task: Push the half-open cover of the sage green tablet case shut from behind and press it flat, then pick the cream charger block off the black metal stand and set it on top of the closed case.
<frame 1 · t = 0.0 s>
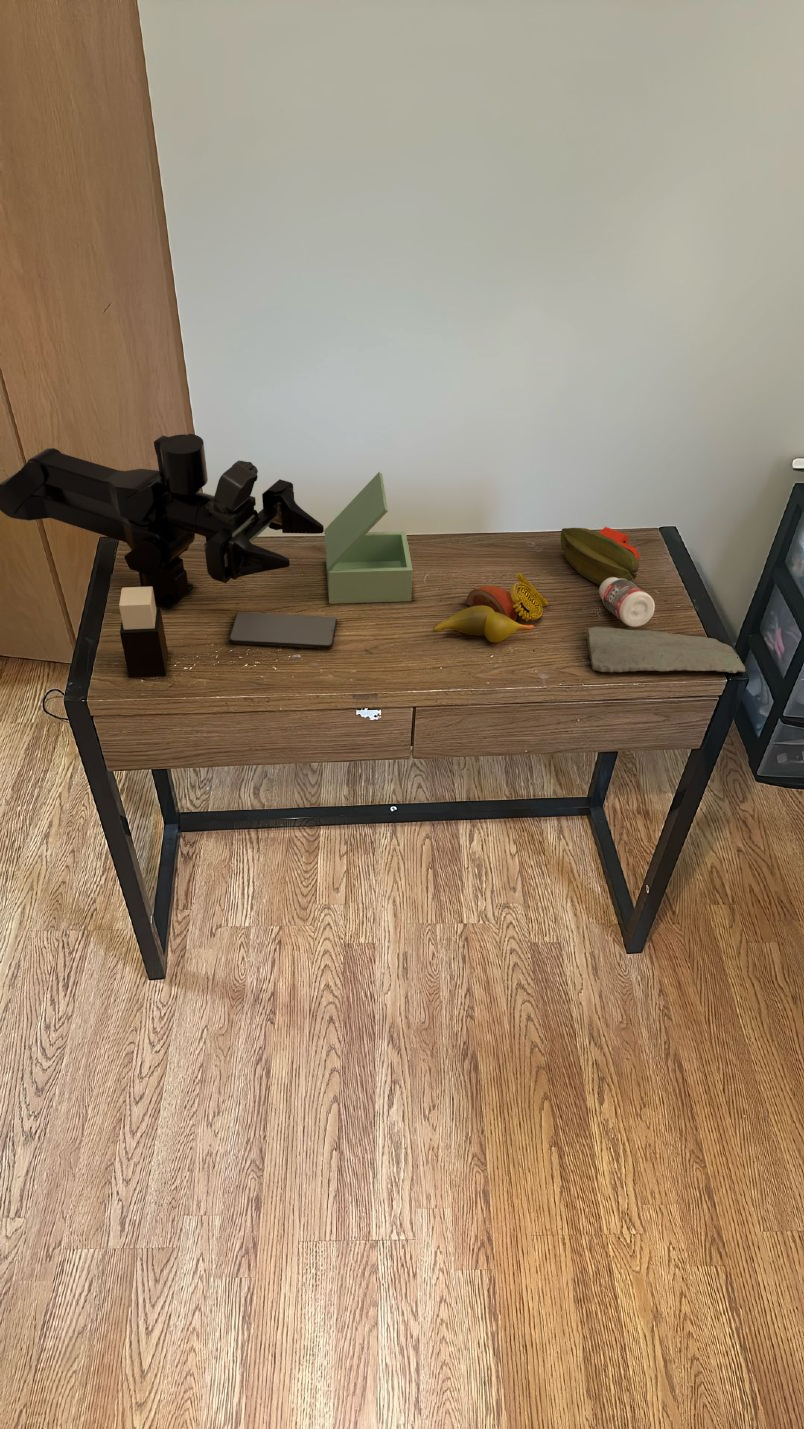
hand: (306, 545, 129), 17 cm above the table, tool horizontal, fingers open, 9 cm apart
cover: (354, 521, 144), point 11 cm above the table, hinge at 50.0°
case: (367, 582, 152), on the table
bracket: (603, 550, 157), point 2 cm above the table
smartphone: (284, 634, 142), on the table
block: (140, 620, 130), point 8 cm above the table, touching stand
pill bottle: (639, 610, 141), point 5 cm above the table, touching stone slab
stone slab: (655, 632, 145), on the table, touching pill bottle
yellow tapered piece: (476, 612, 144), point 2 cm above the table
logo: (532, 588, 148), point 2 cm above the table, touching fruit slice
stand: (148, 665, 135), on the table
fruit: (613, 550, 155), point 3 cm above the table
fruit slice: (503, 587, 146), point 4 cm above the table, touching logo
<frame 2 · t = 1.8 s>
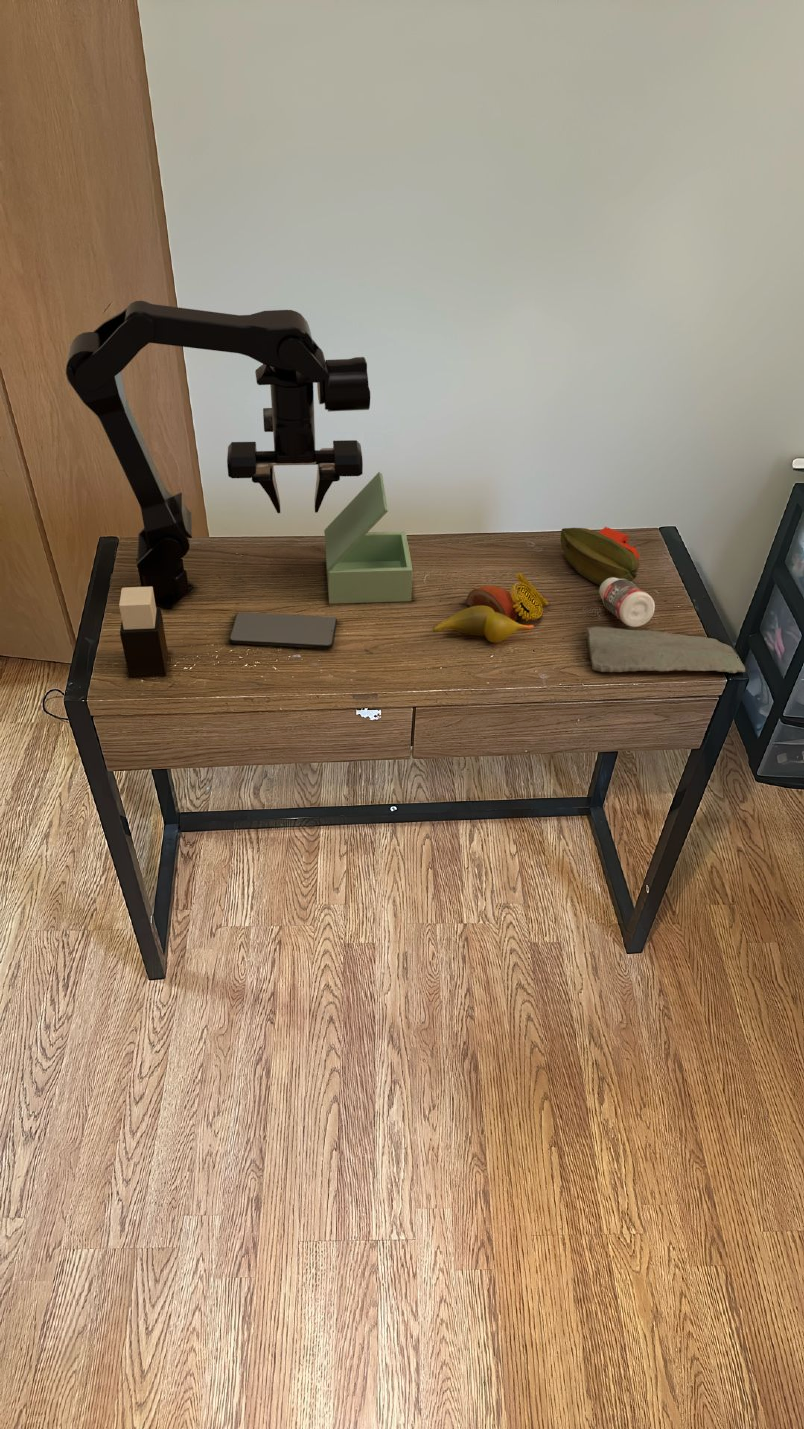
hand: (297, 511, 142), 13 cm above the table, tool pointing down, fingers open, 5 cm apart
nothing on the table moved.
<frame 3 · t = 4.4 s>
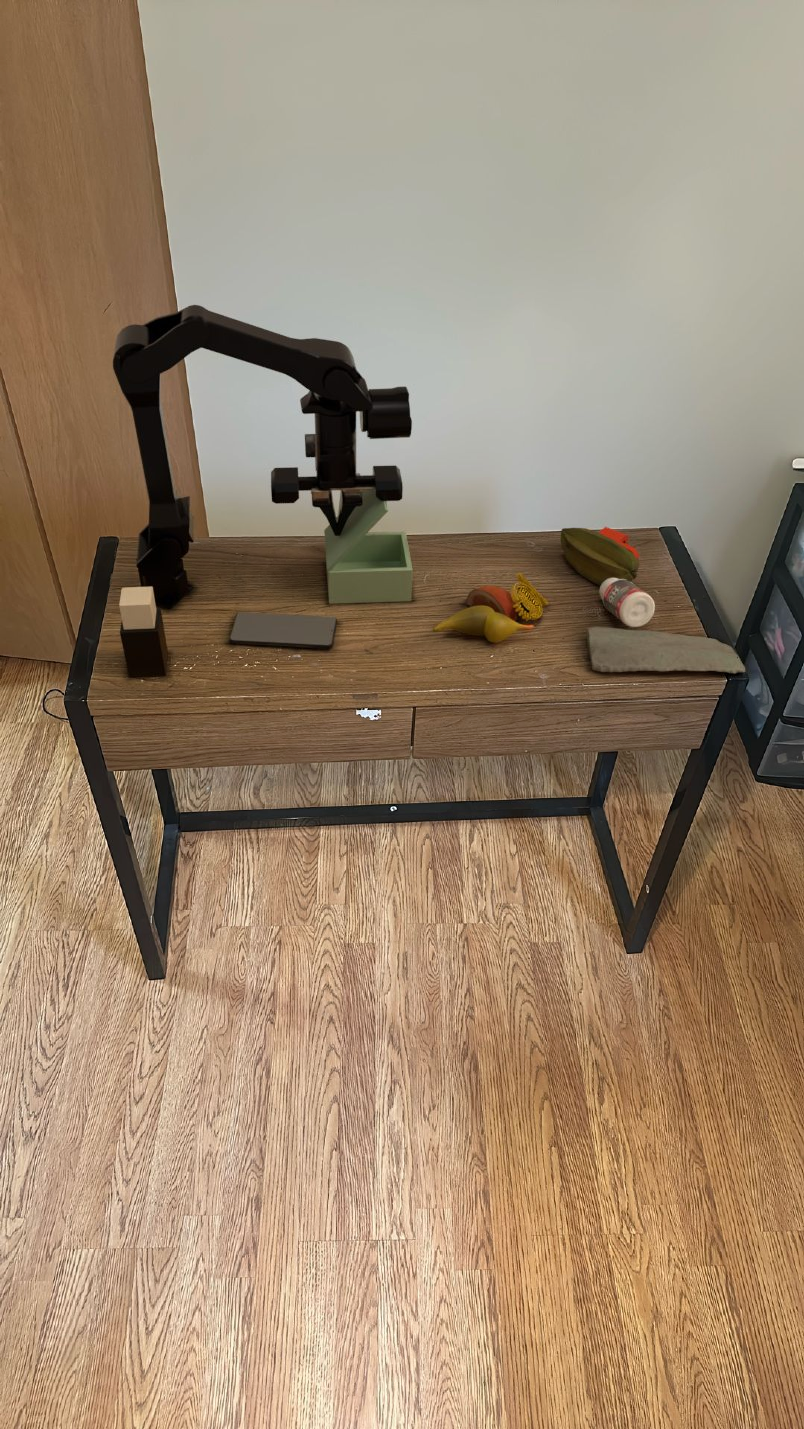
hand: (337, 534, 145), 9 cm above the table, tool pointing down, fingers closed
cover: (354, 521, 144), point 11 cm above the table, hinge at 49.9°, touching gripper
everything else where it was.
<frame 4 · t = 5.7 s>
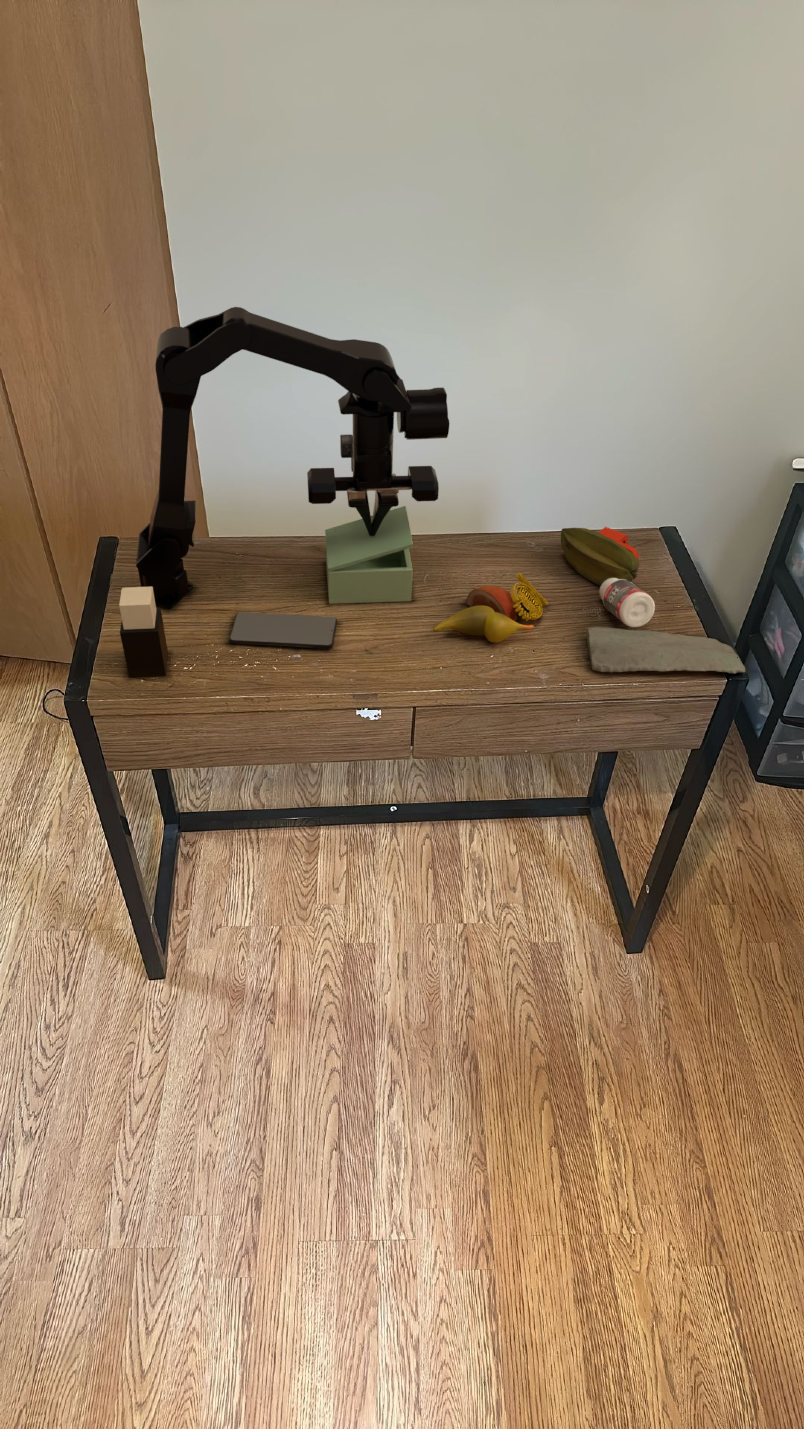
hand: (371, 534, 146), 9 cm above the table, tool pointing down, fingers closed
cover: (368, 538, 146), point 8 cm above the table, hinge at 17.8°, touching gripper
everything else where it was.
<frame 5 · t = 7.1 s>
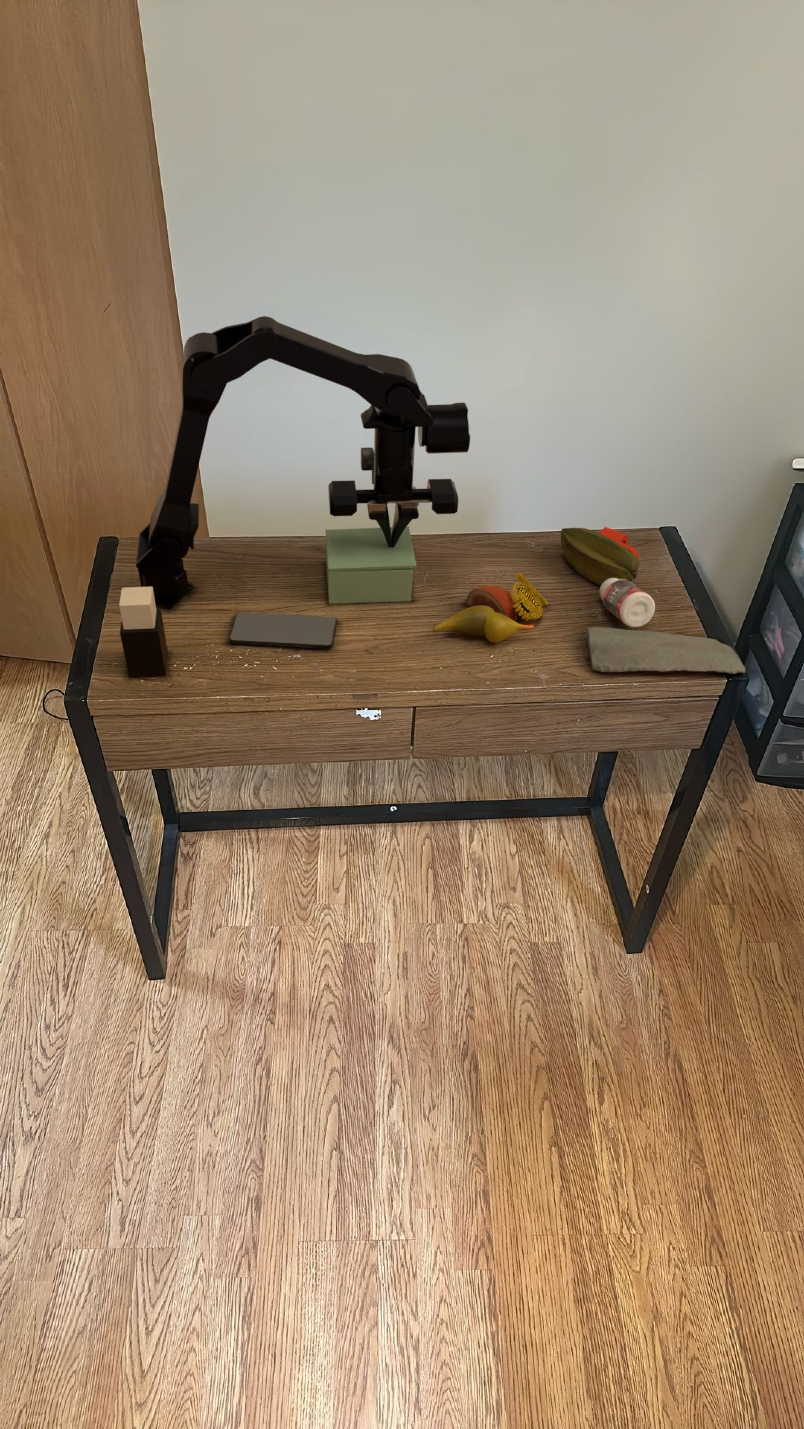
hand: (391, 546, 148), 7 cm above the table, tool pointing down, fingers closed, pressing on cover
cover: (369, 548, 148), point 6 cm above the table, hinge at 1.0°, touching gripper
everything else where it was.
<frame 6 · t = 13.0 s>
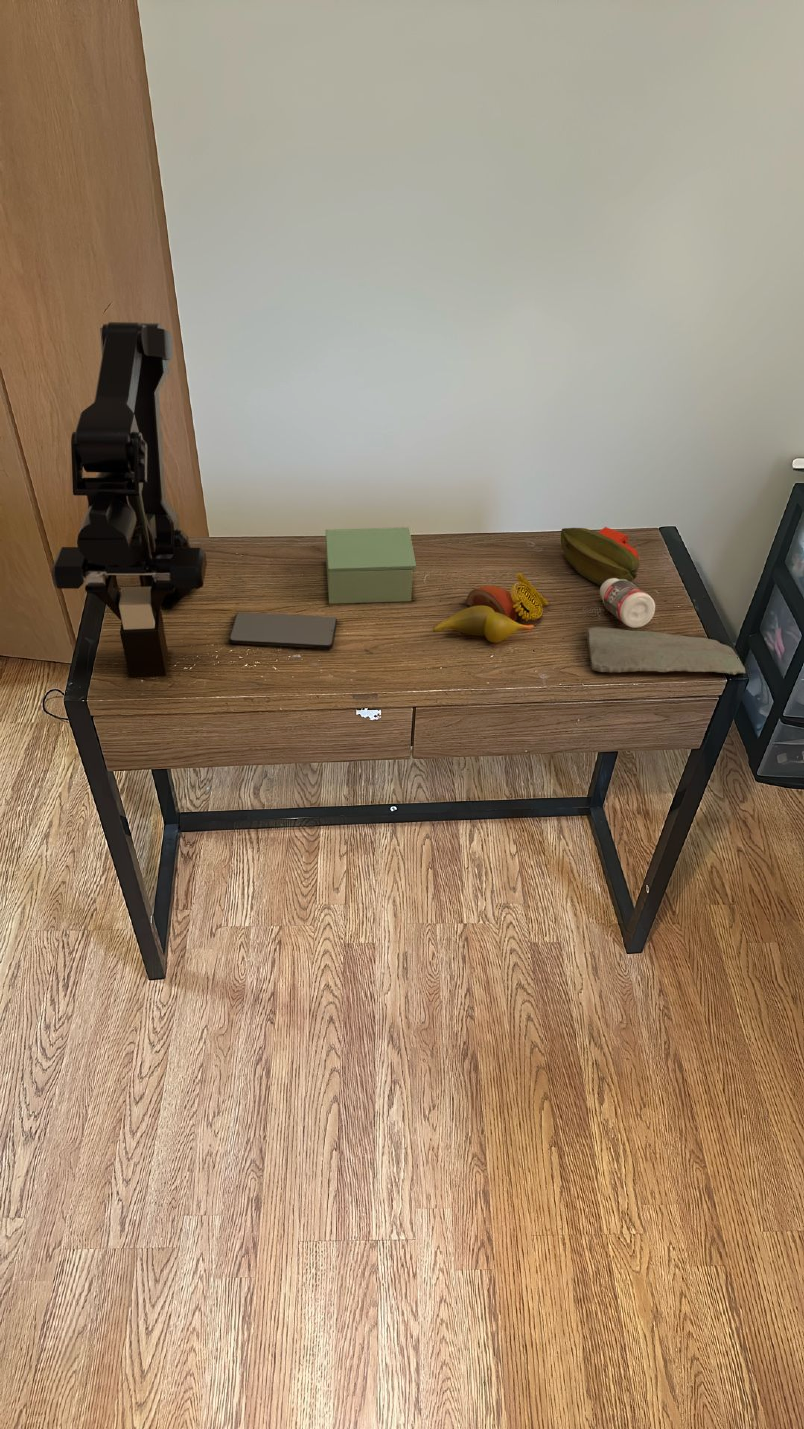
hand: (140, 619, 130), 8 cm above the table, tool pointing down, fingers closed on block, 4 cm apart
cover: (369, 548, 148), point 6 cm above the table, hinge at 0.6°
block: (140, 620, 130), point 8 cm above the table, touching gripper, stand
everything else where it was.
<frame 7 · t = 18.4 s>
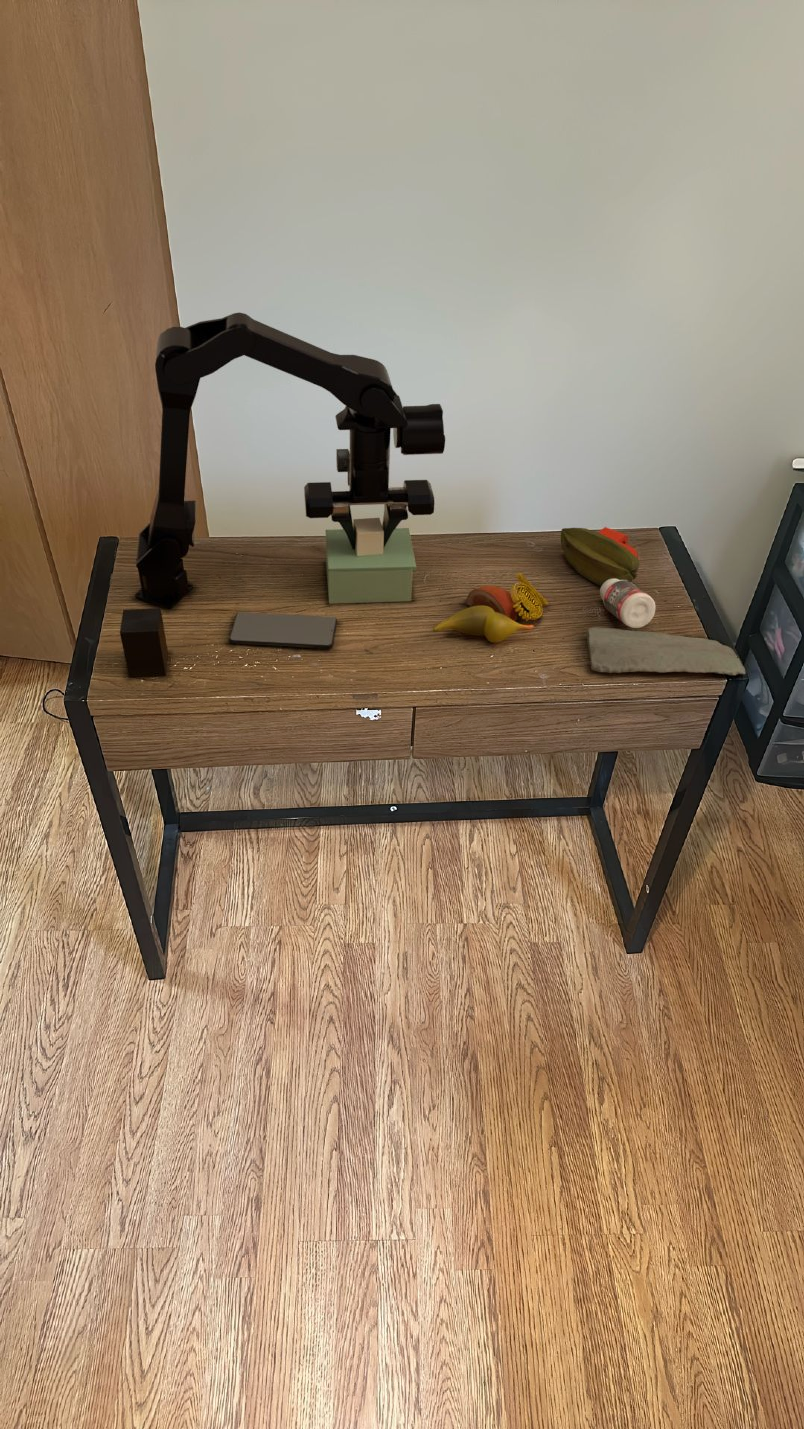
hand: (368, 547, 147), 6 cm above the table, tool pointing down, fingers closed on block, 4 cm apart
cover: (369, 549, 148), point 6 cm above the table, hinge at -0.1°
block: (368, 548, 147), point 6 cm above the table, touching gripper
everything else where it was.
when the fingers open (8 cm above the table, at t = 25.1 s): block drops 1 cm, resting on cover.
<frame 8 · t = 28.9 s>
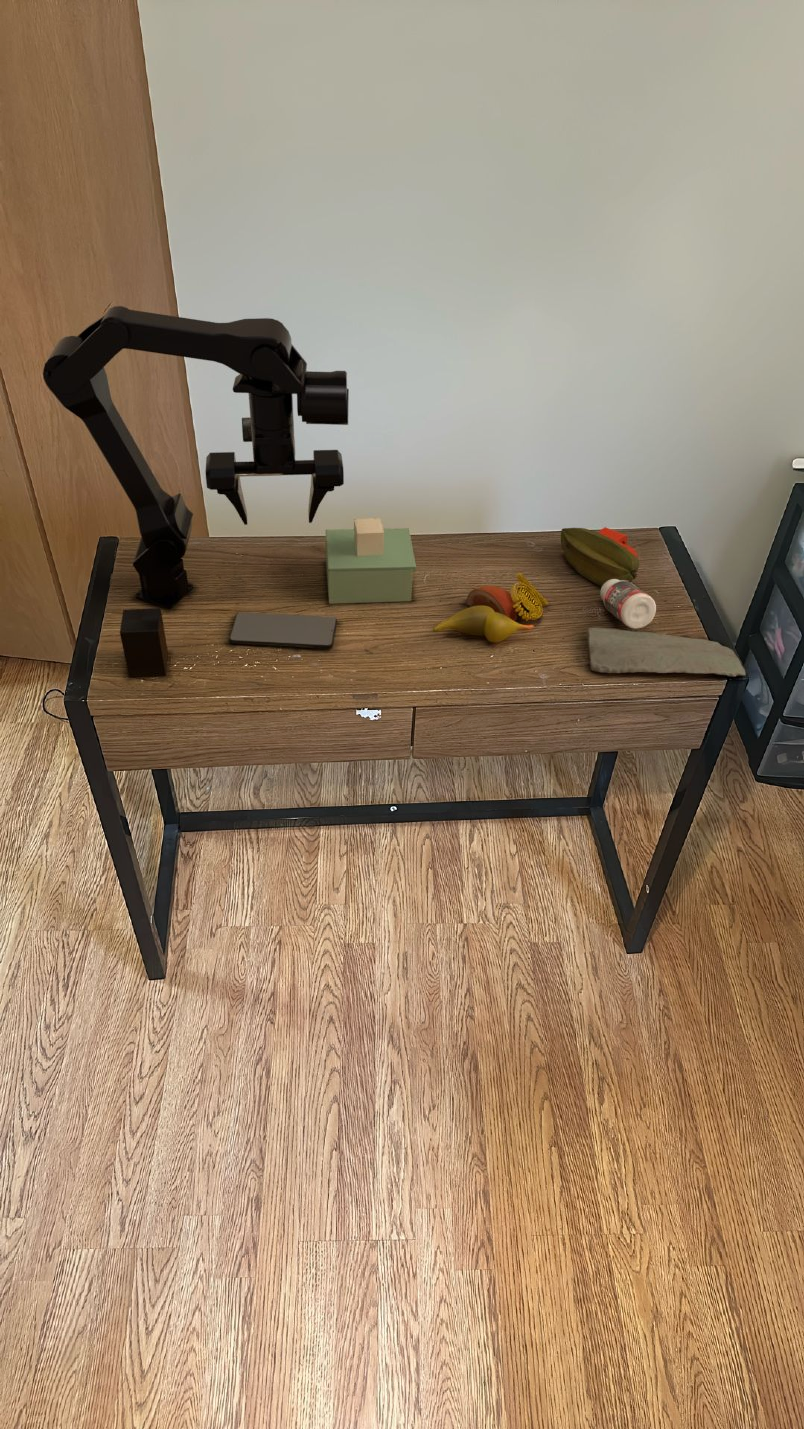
hand: (278, 522, 140), 13 cm above the table, tool pointing down, fingers open, 9 cm apart
cover: (369, 549, 148), point 6 cm above the table, hinge at -0.2°, touching block, case
block: (368, 548, 147), point 6 cm above the table, touching cover
everything else where it was.
at the end: cover at +0° (first picture: +50°); block inside the target area on the case (0.1 cm from its centre), point 6.4 cm above the case's base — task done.
